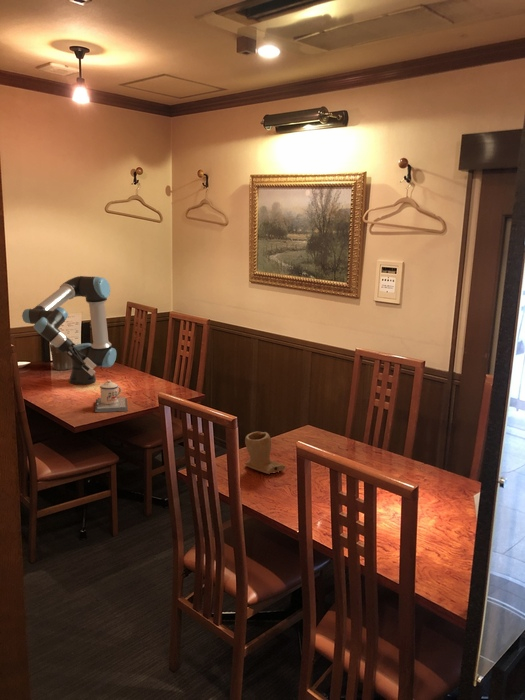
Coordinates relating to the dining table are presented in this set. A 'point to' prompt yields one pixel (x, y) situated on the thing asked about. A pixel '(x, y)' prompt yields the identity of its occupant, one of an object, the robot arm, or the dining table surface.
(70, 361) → the plant pot
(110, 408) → the press bed
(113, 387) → the teacup with lid
